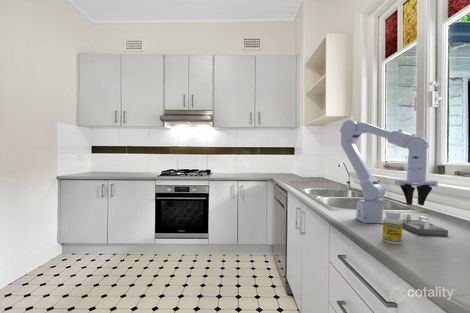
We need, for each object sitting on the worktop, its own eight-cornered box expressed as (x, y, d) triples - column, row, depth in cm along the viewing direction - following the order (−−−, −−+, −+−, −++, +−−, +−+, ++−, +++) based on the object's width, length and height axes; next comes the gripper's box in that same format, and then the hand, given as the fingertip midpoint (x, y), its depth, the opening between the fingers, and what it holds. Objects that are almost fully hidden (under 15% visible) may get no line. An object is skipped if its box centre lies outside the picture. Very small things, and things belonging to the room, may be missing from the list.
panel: (417, 234, 90) (417, 221, 90) (395, 224, 103) (396, 212, 103) (447, 236, 89) (448, 222, 89) (422, 225, 102) (422, 213, 102)
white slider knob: (423, 224, 95) (423, 217, 95) (418, 222, 97) (419, 216, 97) (427, 224, 95) (427, 218, 95) (423, 222, 97) (423, 216, 97)
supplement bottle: (398, 240, 84) (400, 211, 84) (404, 245, 79) (405, 214, 78) (380, 237, 85) (381, 209, 85) (384, 243, 80) (385, 213, 80)
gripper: (403, 168, 92) (401, 206, 92) (444, 170, 91) (443, 207, 92) (392, 167, 99) (390, 202, 99) (430, 168, 98) (429, 203, 99)
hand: (415, 204), depth 96 cm, fingers open, 4 cm apart
